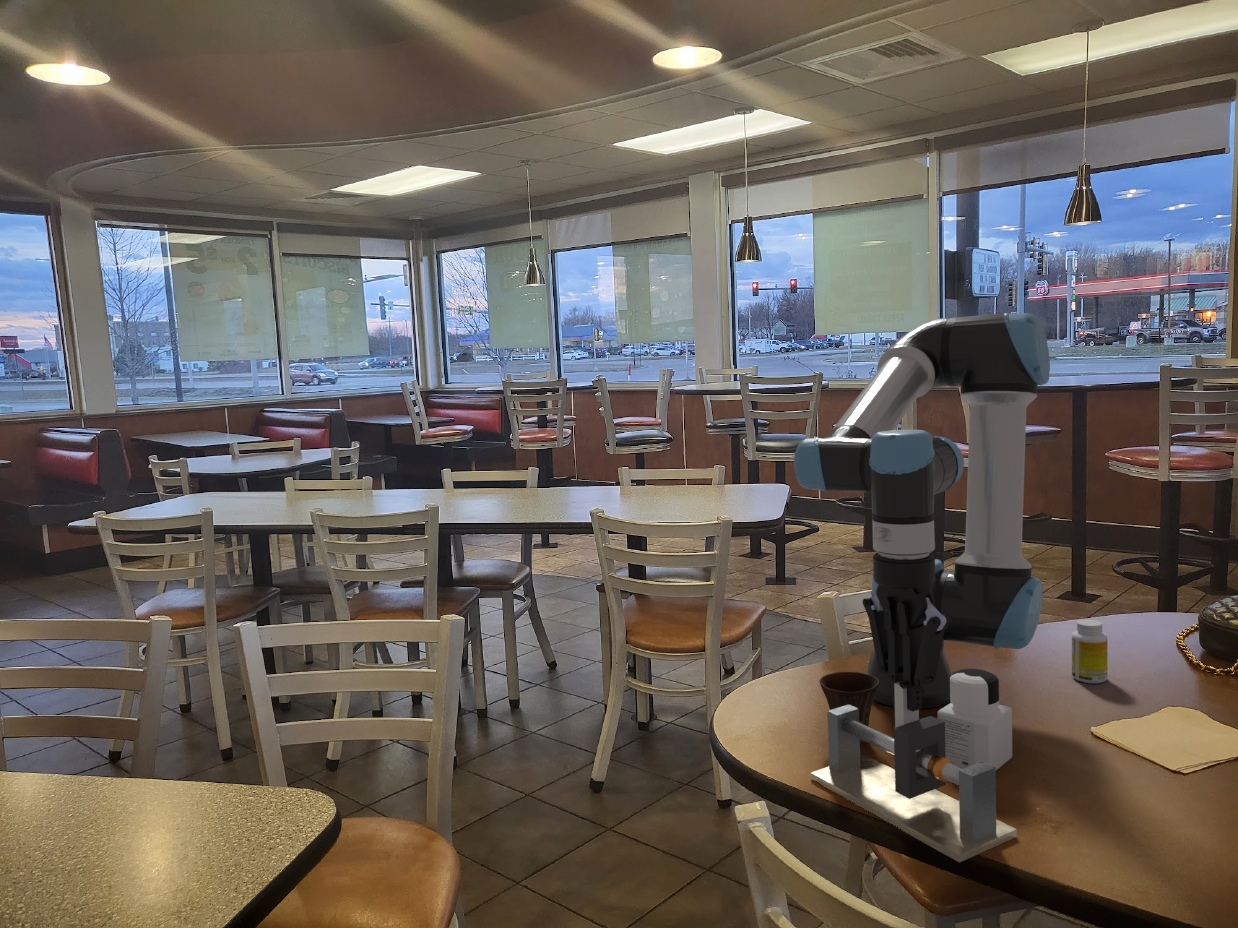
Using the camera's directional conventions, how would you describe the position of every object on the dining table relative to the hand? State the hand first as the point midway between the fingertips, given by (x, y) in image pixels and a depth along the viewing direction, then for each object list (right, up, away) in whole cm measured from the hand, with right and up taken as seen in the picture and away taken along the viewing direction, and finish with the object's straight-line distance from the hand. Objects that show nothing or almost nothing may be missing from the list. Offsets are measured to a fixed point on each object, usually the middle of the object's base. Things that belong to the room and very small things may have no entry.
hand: (907, 731), depth 119 cm
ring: (+1, -7, -1) cm, 7 cm away
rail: (0, -10, +2) cm, 11 cm away
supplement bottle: (+45, -3, +42) cm, 62 cm away
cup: (-1, -8, +24) cm, 25 cm away
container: (+14, -8, +14) cm, 22 cm away
